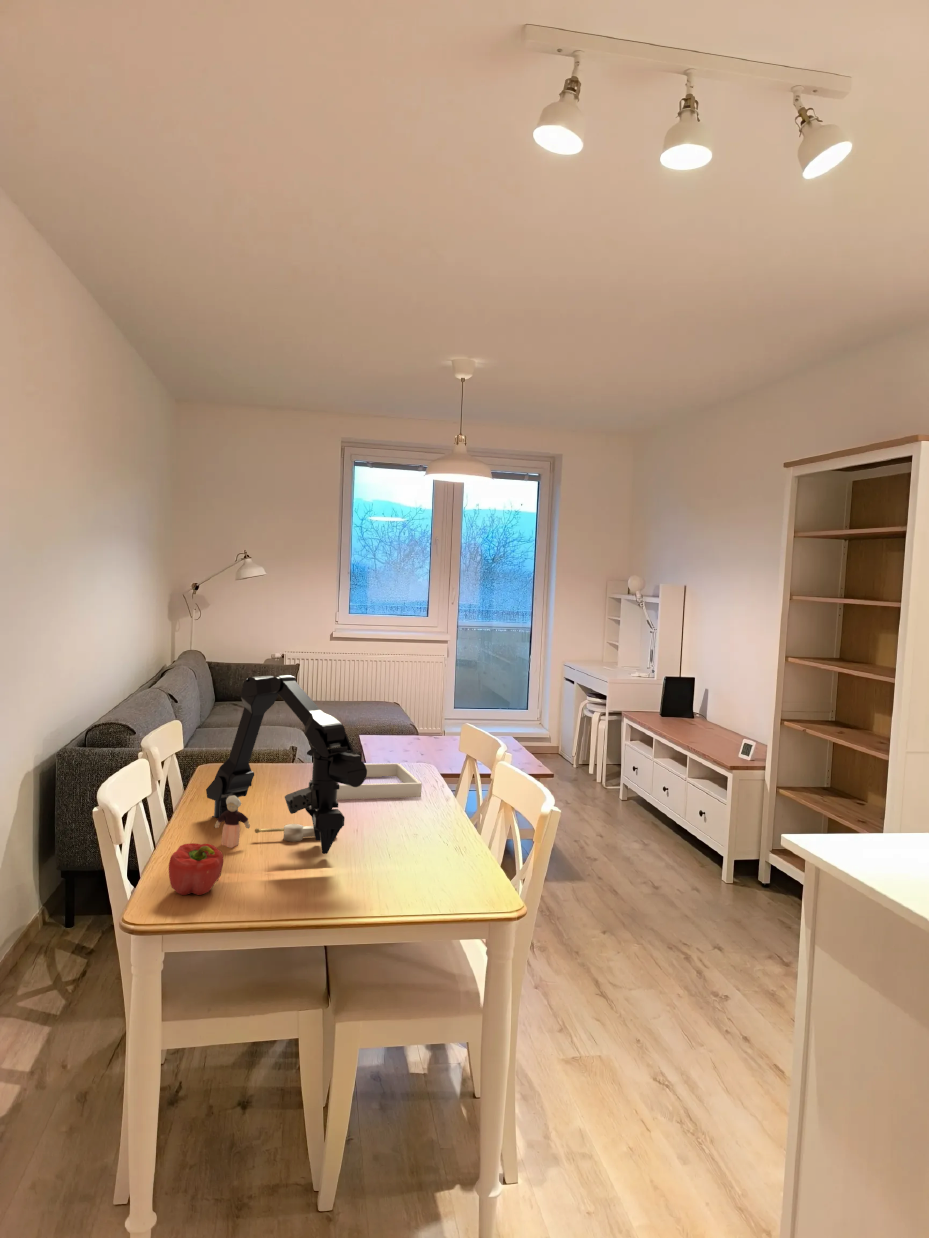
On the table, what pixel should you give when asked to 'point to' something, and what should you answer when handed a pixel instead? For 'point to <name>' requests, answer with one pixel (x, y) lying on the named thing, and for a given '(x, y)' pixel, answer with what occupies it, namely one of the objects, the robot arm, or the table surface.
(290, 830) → the beige dial pointer lever
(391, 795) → the tray
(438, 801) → the table surface
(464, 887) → the table surface
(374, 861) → the table surface
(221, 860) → the vegetable
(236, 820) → the grandmother figurine
